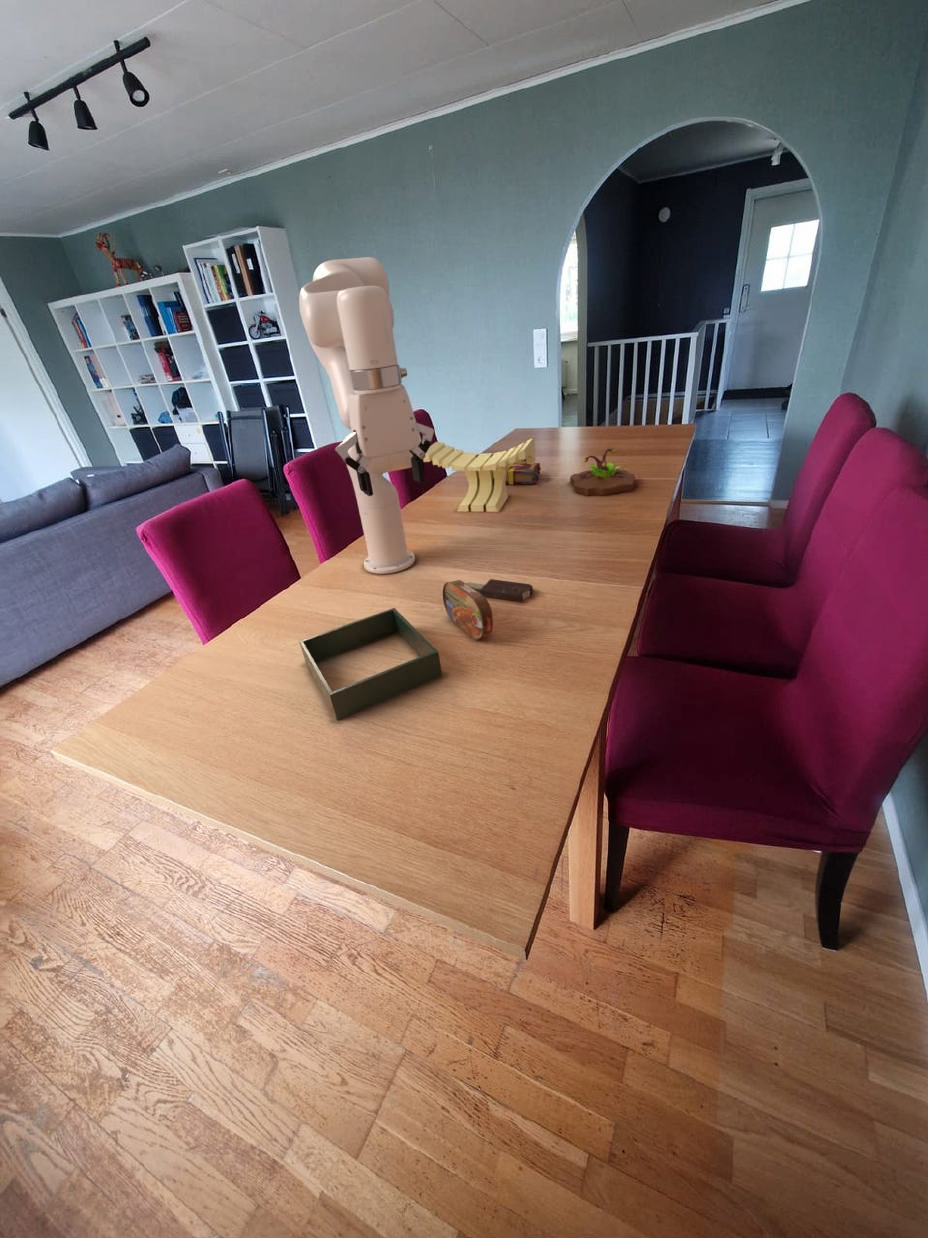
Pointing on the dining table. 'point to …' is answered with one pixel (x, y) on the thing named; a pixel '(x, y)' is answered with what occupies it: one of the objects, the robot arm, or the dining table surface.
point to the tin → (468, 609)
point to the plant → (603, 478)
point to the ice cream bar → (504, 590)
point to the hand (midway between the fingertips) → (394, 487)
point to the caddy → (381, 683)
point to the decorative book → (523, 473)
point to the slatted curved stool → (482, 472)
